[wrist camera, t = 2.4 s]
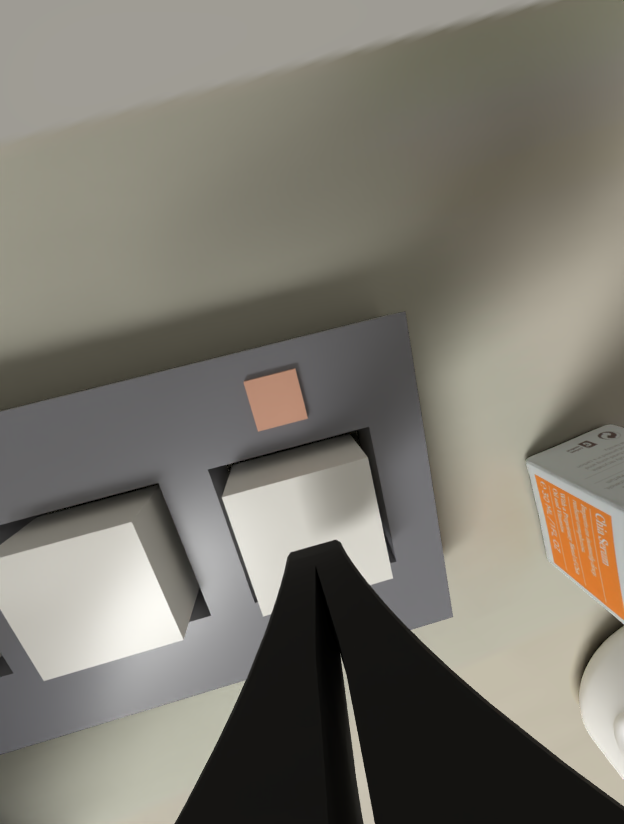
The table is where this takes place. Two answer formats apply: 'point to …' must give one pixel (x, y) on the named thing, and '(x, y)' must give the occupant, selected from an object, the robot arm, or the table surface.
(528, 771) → the robot arm
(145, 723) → the table surface
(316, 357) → the keypad frame
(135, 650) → the key middle
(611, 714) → the mug
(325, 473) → the key outer
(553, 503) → the skincare box
